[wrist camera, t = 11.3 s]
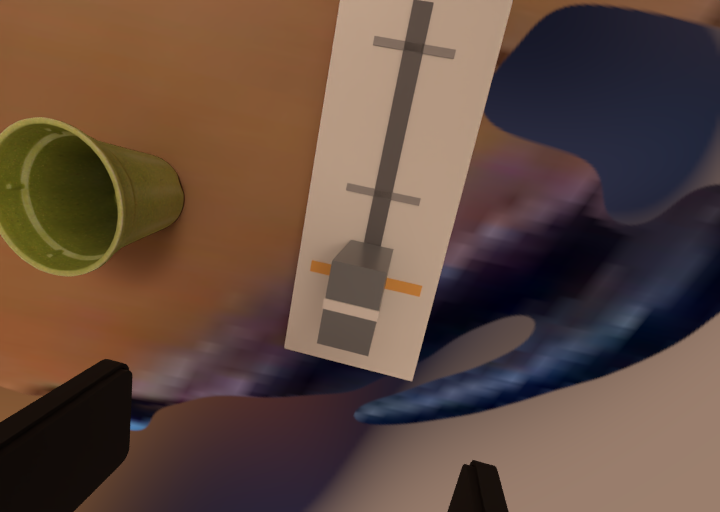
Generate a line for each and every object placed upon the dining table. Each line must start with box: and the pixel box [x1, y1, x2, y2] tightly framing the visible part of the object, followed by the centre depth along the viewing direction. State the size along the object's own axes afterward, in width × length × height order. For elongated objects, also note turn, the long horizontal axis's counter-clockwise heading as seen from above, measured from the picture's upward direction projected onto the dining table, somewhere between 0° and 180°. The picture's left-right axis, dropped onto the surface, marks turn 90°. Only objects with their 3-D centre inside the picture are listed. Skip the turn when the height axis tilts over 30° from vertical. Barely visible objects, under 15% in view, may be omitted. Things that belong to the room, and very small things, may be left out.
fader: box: [317, 240, 394, 356], centre depth 23 cm, size 3×5×6 cm, turn 169°
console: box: [284, 0, 513, 381], centre depth 26 cm, size 10×26×3 cm, turn 169°
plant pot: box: [0, 117, 184, 276], centre depth 26 cm, size 9×9×9 cm
